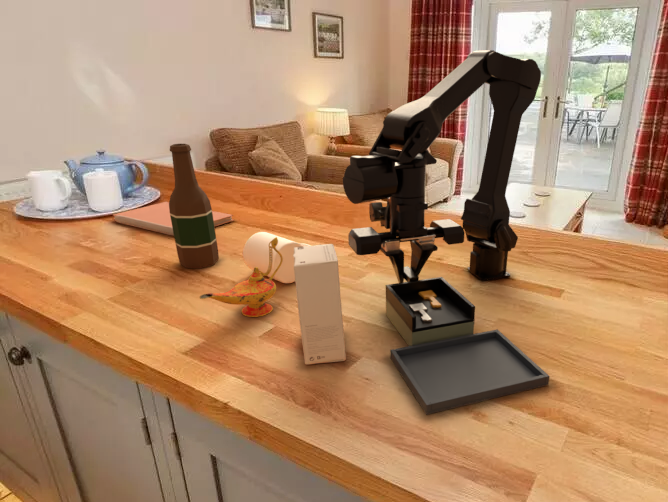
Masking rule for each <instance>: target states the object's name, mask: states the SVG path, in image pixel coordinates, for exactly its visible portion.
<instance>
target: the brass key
mask: <svg viewBox="0 0 668 502" xmlns="http://www.w3.org/2000/svg"><path fill="white" fill-rule="evenodd" d="M419 295H420V296H421V297H422V298H423V299H429V300H430V301H431V302H430V305H431V306H432V307H433V308H434V307H437V308H438V307H441V304H440V303H439V302H438V301H437V300H436V299H435V297H436V294H435V293H434V292H433V291H432V290H429V291H422V292H419Z"/></svg>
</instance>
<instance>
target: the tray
mask: <svg viewBox="0 0 668 502" xmlns="http://www.w3.org/2000/svg"><path fill="white" fill-rule="evenodd" d="M389 352H390V353H389V354H390V356H389V358H390V360H391V361H392V363H393V365H394V367H395V368H396V369H397V371H398V372H399V374H400V375H401V378H402V379H403V380H404V382H405V384H406V385H407V387H408V388H409V390H410V391H411V393H412V394H413V396H414V398H415V399H416V402H418V404H419V406H420V407H421V409H422V410H423V412H424V414H425V415H426V416H428V415H431V414H435V413H440V412H443V411H447V410H451V409H456V408H460V407H464V406H469V405H472V404H475V403H480V402H485V401H489V400H493V399H496V398H500V397H504V396H509V395H513V394H517V393H521V392H525V391H529V390H533V389H538V388H542V387H546V386H549V384H550V383H549V382H550V377H551V376H550V375H549V374H548V373H547V372H546V371H545V370H544V369H542V368H541V367H540V366H539V365H538V364H537V363H536V362H534V361H533V360H532V358H530V357H529V356H528V355H527V354H526V353H525V352H524V351H522V350H521V349H520V347H518V346H517V345H516V344H515V343H514V342H513V341H511V340H510V339H509V338H508V337H507V336H506V335H505V334H504V333H502V332H501V331H500V330H499V329H498V328H497V329H492V330H487V331H481V332H477V333H473V334H470V335H465V336H460V337H455V338H450V339H444V340H439V341H434V342H429V343H423V344H418V345H413V346H408V345H407V346H403V347H398V348H391V349H389Z"/></svg>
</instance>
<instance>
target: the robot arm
mask: <svg viewBox="0 0 668 502" xmlns="http://www.w3.org/2000/svg"><path fill="white" fill-rule="evenodd" d="M541 78H542V71H541V68H540V67H539V65H538V63H537V61H536V60H535V59H533V58H517V57H513V56H508V55H505V54H503V53H500V52H498V51H495V50H493V49H491V50H489V49H487V50H474V51H472V52H470V53H468V55H467V57H466V59H465V60H464V61H463V62H461V63H460V64H459V65H457V66H456V68H454V69H453V70H452V71H451V72H450V73H448V75H446V76H445V77H444V78H443V79H442V80H441V81H440V82H438V83H437V84H436V85H435V86H434V87H433V88H431V90H428V92H427V93H426V94H425V95H424V96H422V97H420V98H418V99H416V100H413V101H411V102H408V103H405V104H403V105H401V106H399V107H398V108H396V109H394V110H392V111H391V112H389V113H388V114H387V115H386V116H385V117H384V119H383V122H382V124H383V126H382V128H381V131H380V132H379V134H378V136H377V137H376V140H375V141H374V143H373V145H372V146H371V149H370V150H369V152H368V155H351V156H350V157H349V164H348V165H347V166H346V168H345V171H344V175H343V177H342V186H343V191H344V193H345V196H346V198H347V200H348V201H349V202H351V203H352V204H354V205H358V204H364V203H369V204H368V205H369V207H368V209H369V210H368V211H369V212H368V213H369V220H370V223H375V222H380V223H379V224H380V227H384V228H385V229H386V230H389V231H383V232H378V231H376V229H374V228H373V227H372V226H367V227H357V228H351V229H350V231H349V232H348V234H347V237H348V246H349V247H350V248H351V249H352V251H353V252H354V254H356V255H357V256H368V255H376V254H378V253H379V252H381V253H382V254H383V255H384V256H385V257H388V259H389V260H390V263H391V265H392V269H393V272H394V273H395V276H396V279H397V283H403V282H405V281H404V280H405V279H404V267H405V252H404V251H403V250H402V249H401V243H407V242H409V244H410V250H411V252H410V253H411V254H410V267H409V268H410V269H411V270H412V271H413V272H414V273H415V274H416V275H417V276H418V277H419V276H420V274H421V272H422V270H423V268H424V267H425V264H426V262H428V260H429V258H430V257H431V255H432V254H433V253H434V252H437V251H438V249H439V247H438V246H437V245H436V244H435V240H436V239H441V238H442V240H443V241H444V242H445V243H446V244H447V245H449V246H450V245H451V246H452V245H457V244H463V243H464V242H465V237H466V241H467V242H468V243H469V242H471V243H472V251H470V255H469V266H467V271H468V272H470V273H471V274H472V275H473V276H474V277H476V278H477V279H478V280H480V281H482V282H485V281H492V280H498V279H505V278H506V279H507V278H510V277H511V273H510V272H508V271H507V267H508V266H507V265H508V258H509V257H508V256H509V252H511V251H512V249H516V245H517V243H518V240H519V237H518V235H517V234H516V232H515V231H514V230H513V228H512V226H510V216H511V215H510V214H511V210H510V207H509V204H508V199H507V197H506V192H507V189H508V183H509V178H510V175H511V174H510V173H511V168H512V163H513V161H514V160H513V159H514V154H515V151H516V150H515V149H516V145H517V141H518V136H519V131H520V128H521V127H520V126H521V121H522V117H523V114H525V112H526V111H527V109H529V107H530V106H531V105H532V103H533V102H534V101H535V98H536V95H537V92H538V89H539V87H540V84H541V80H542V79H541ZM485 84H487V85H489V86H488V88H489V89H488V96H489V100H490V102H491V105H492V110H493V115H492V120H491V125H490V131H489V135H488V140H487V146H486V150H485V154H484V155H485V156H484V160H483V165H482V170H481V176H480V182H479V187H478V190H477V192H476V193H475V194H474V195H473V197H472V198H470V199H469V198H466V199H465V201H464V204H463V212H462V215H461V217H460V220H462V225H460V224H459V223H457V222H455V221H454V220H452V219H451V218H447V219H436V220H432V221H430V223H429V227H427V226H425V222H426V221H425V220H426V211H428V210H429V203H428V202H426V175H427V174H426V170H427V169H426V168H427V167H426V166H428V165H436V164H437V161H438V160H437V159H436V158H435V157H434V156H433V155H432V154H431V152H430V151H429V148H430V147H431V146H432V144H433V143H434V141H436V139H437V138H438V137H439V135H440V134H441V132H442V127H443V124H444V122H445V120H446V119H447V118H448V117H449V116H451V114H453V113H454V112H455V111H456V110H457V109H458V108H459V107H460V106H462V104H463V103H464V102H466V101H467V100H468V99H469V98H470V97H471V96H472V95H473V94H474V93H475V92H477V91H478V90H479V89H480V88H481V87H482V86H483V85H485ZM380 200H386V206H383V202H381V201H380ZM375 201H378V202H375ZM370 202H371V203H370Z"/></svg>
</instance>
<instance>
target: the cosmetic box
mask: <svg viewBox="0 0 668 502" xmlns="http://www.w3.org/2000/svg"><path fill="white" fill-rule="evenodd" d="M293 257H294V274H295V282H294V283H295V292H296V293H295V295H296V301H297V303H296V304H297V311H298V321H299V330H300V337H301V344H302V351H303V359H304V365H315V364H323V363H324V364H325V363H337V362H345V361H346V359H347V355H346V343H345V334H344V319H343V309H342V308H343V307H342V297H341V282H340V272H339V259H338V255H337V251H336V248H335V245H334V244H333V243H323V244H316V245H315V244H314V245H310V246H303V247H295V248H294V255H293Z"/></svg>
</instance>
